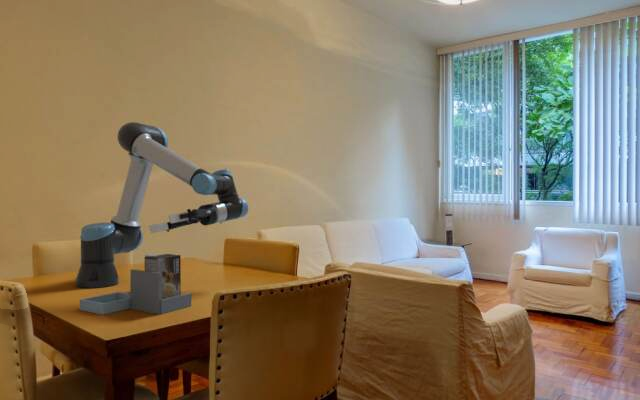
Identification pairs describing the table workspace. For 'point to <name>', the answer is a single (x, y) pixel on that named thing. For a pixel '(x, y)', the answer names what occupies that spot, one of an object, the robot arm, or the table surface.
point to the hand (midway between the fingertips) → (159, 224)
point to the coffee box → (166, 272)
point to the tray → (106, 303)
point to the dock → (153, 294)
